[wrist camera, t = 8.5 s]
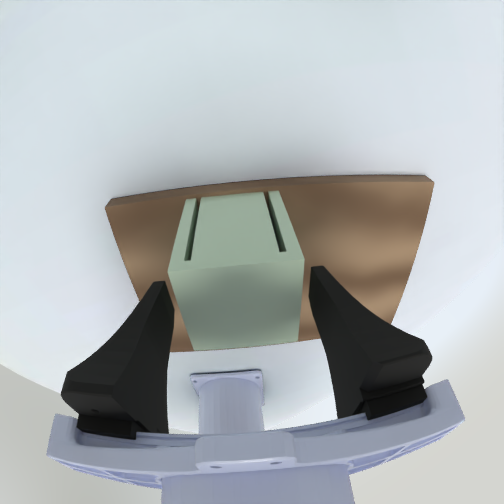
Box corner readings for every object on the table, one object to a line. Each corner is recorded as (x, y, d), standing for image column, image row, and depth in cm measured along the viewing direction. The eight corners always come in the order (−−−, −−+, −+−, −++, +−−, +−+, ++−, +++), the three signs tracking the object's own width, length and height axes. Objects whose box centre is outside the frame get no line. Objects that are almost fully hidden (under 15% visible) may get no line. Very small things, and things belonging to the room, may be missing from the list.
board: (386, 316, 26) (390, 325, 25) (165, 342, 26) (163, 352, 25) (425, 175, 18) (434, 182, 17) (110, 199, 17) (104, 207, 16)
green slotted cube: (279, 263, 20) (297, 341, 14) (200, 270, 20) (194, 350, 14) (278, 190, 17) (304, 258, 11) (186, 199, 16) (167, 271, 11)
